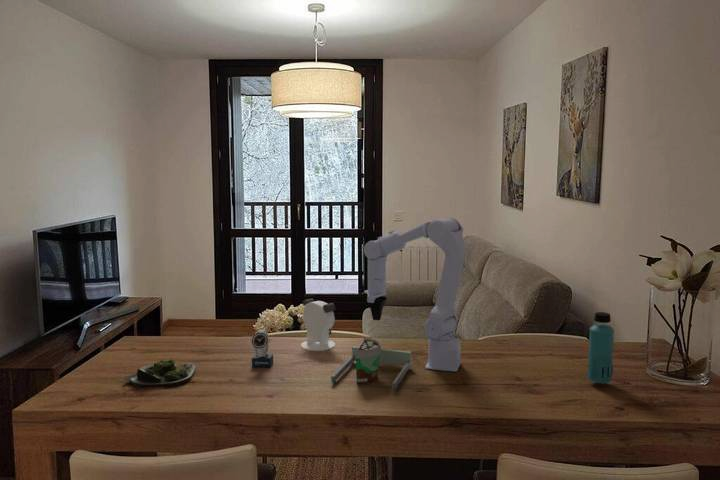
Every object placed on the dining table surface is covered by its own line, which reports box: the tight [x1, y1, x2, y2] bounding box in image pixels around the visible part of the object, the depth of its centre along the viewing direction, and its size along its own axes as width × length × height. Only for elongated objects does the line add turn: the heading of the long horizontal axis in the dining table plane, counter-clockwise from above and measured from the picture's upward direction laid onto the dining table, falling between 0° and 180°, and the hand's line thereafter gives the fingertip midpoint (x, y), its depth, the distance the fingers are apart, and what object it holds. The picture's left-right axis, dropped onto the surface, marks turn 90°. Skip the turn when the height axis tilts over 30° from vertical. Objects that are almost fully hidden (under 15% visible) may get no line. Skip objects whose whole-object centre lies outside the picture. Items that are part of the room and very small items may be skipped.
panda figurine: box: [300, 298, 336, 352], centre depth 198 cm, size 12×11×15 cm
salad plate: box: [123, 358, 196, 388], centre depth 172 cm, size 19×18×5 cm
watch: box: [251, 329, 274, 369], centre depth 179 cm, size 6×8×11 cm
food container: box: [355, 337, 382, 385], centre depth 168 cm, size 12×6×10 cm, turn 168°
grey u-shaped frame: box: [330, 345, 412, 391], centre depth 171 cm, size 18×19×5 cm
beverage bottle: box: [586, 311, 615, 384], centre depth 163 cm, size 6×7×20 cm
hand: (376, 319), depth 192 cm, fingers closed
